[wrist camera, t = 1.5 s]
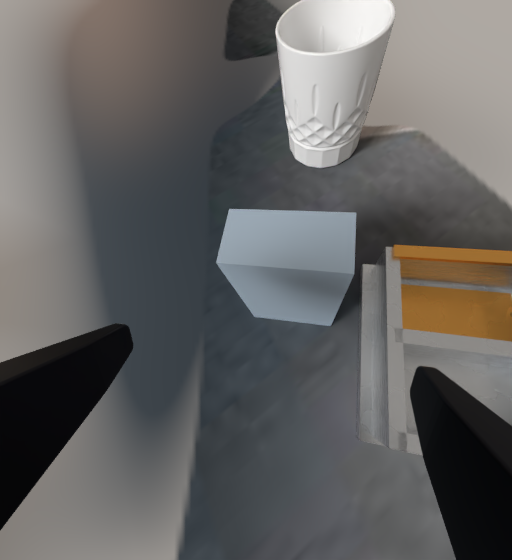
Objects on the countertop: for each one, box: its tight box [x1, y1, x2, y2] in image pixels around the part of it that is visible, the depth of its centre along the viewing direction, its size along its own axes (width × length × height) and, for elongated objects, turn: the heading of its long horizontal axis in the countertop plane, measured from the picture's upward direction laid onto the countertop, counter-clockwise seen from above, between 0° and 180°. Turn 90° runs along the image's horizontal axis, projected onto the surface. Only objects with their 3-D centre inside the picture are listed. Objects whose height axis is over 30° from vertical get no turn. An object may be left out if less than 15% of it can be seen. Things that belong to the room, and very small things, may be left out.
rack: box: [356, 245, 512, 455], centre depth 15 cm, size 12×11×5 cm
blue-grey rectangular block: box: [216, 209, 356, 326], centre depth 16 cm, size 3×6×10 cm, turn 82°
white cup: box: [276, 0, 396, 168], centre depth 22 cm, size 8×8×10 cm
